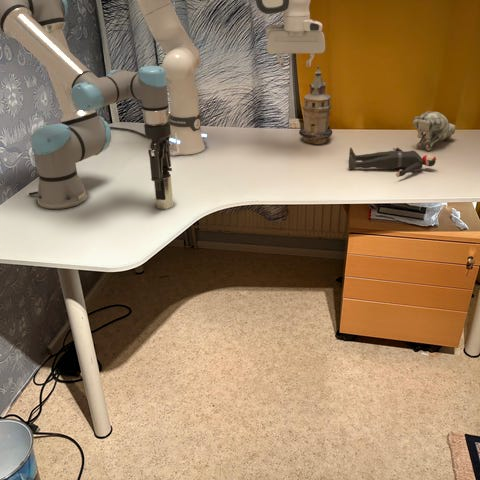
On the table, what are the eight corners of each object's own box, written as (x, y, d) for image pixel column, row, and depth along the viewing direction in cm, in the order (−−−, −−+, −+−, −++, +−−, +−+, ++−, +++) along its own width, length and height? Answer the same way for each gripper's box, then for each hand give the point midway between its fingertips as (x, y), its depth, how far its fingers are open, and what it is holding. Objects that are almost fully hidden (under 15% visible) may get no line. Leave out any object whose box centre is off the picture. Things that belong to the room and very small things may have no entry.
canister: (154, 208, 167) (150, 178, 162) (159, 201, 171) (156, 171, 166) (170, 209, 166) (167, 179, 161) (175, 202, 170) (172, 172, 165)
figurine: (442, 162, 206) (466, 135, 215) (430, 119, 197) (456, 92, 206) (420, 162, 213) (444, 135, 222) (407, 120, 205) (433, 94, 213)
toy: (350, 139, 204) (432, 140, 198) (349, 155, 207) (431, 156, 201) (348, 164, 182) (441, 166, 176) (347, 181, 185) (438, 183, 179)
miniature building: (320, 132, 228) (325, 59, 214) (338, 142, 217) (344, 66, 203) (293, 137, 224) (296, 63, 209) (310, 147, 213) (314, 69, 198)
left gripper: (160, 132, 147) (167, 208, 159) (177, 113, 163) (182, 184, 174) (134, 131, 148) (143, 207, 160) (153, 112, 164) (160, 182, 175)
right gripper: (265, 26, 180) (265, 68, 187) (327, 25, 179) (324, 68, 186) (265, 23, 185) (265, 64, 192) (325, 22, 184) (322, 64, 191)
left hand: (163, 195), depth 167 cm, fingers closed on canister, 5 cm apart
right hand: (295, 66), depth 189 cm, fingers open, 8 cm apart
